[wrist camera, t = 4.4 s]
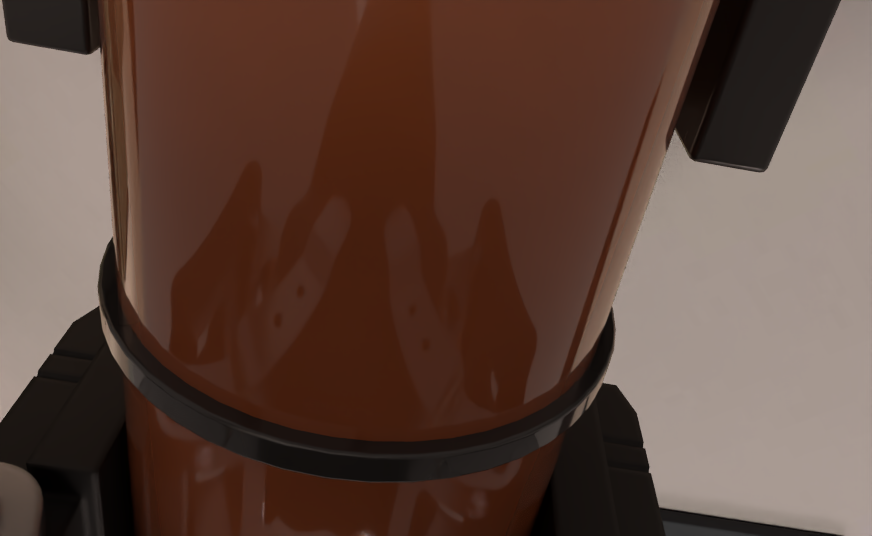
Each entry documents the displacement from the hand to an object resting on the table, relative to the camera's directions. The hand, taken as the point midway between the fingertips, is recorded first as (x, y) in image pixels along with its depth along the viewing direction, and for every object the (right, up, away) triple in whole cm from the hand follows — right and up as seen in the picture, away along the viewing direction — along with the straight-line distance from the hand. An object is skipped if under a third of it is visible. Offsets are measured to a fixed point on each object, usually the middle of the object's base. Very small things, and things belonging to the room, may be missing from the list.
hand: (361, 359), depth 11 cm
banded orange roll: (0, 0, 0) cm, 0 cm away
